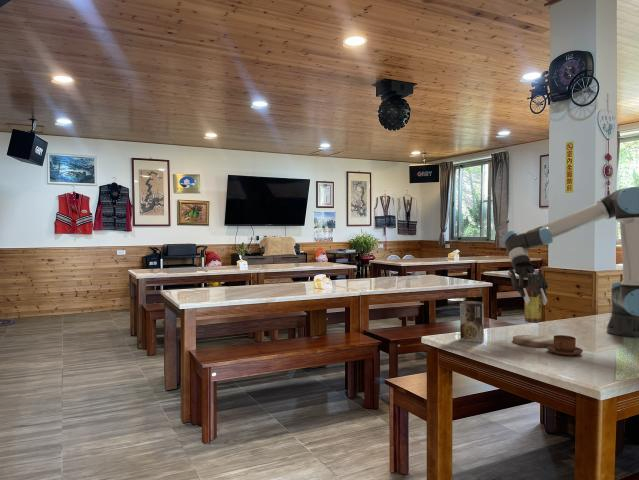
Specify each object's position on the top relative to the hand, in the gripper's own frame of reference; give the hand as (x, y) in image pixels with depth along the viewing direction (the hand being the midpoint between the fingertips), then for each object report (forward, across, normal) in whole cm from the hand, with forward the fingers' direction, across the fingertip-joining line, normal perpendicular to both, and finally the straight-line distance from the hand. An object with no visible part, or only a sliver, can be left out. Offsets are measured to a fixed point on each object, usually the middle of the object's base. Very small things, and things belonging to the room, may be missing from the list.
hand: (536, 302), depth 189 cm
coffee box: (+7, +24, -18) cm, 30 cm away
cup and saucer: (+22, -5, -3) cm, 22 cm away
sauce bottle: (+4, 0, -9) cm, 9 cm away
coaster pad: (+10, 0, -14) cm, 17 cm away
